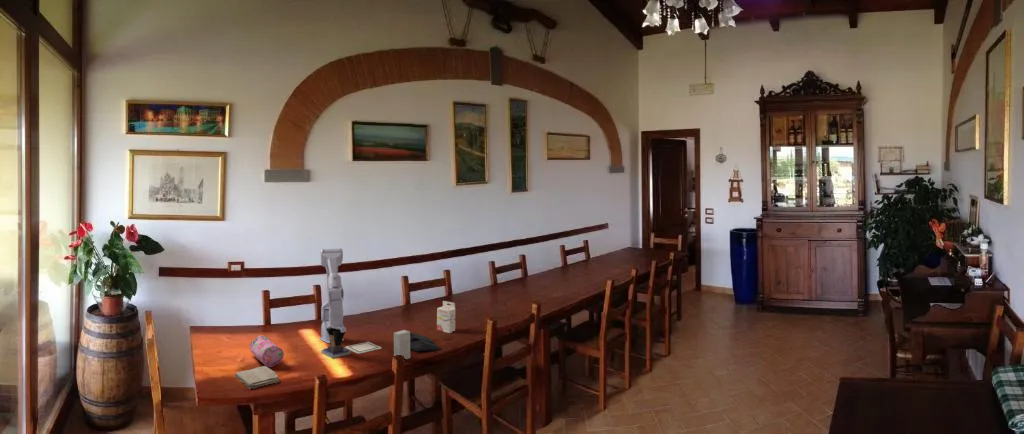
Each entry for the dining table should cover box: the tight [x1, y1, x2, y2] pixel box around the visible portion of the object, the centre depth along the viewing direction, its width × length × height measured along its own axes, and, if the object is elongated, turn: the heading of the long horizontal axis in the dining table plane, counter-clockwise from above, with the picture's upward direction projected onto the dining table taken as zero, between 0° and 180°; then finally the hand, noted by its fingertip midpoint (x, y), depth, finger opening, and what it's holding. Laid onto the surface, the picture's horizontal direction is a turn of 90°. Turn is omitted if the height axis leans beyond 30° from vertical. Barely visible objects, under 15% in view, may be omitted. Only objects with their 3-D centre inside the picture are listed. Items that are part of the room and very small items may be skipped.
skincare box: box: [393, 329, 411, 360], centre depth 260 cm, size 6×4×12 cm
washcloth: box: [234, 365, 280, 390], centre depth 233 cm, size 12×18×3 cm, turn 43°
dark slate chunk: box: [409, 331, 442, 353], centre depth 280 cm, size 15×22×5 cm
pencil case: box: [249, 334, 285, 368], centre depth 255 cm, size 21×9×9 cm, turn 36°
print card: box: [344, 341, 382, 355], centre depth 274 cm, size 12×12×1 cm
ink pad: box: [321, 346, 352, 359], centre depth 266 cm, size 10×9×2 cm
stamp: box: [327, 335, 344, 352], centre depth 265 cm, size 5×5×6 cm
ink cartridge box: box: [436, 300, 456, 334], centre depth 304 cm, size 9×5×15 cm, turn 58°
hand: (336, 344), depth 265 cm, fingers closed on stamp, 4 cm apart
